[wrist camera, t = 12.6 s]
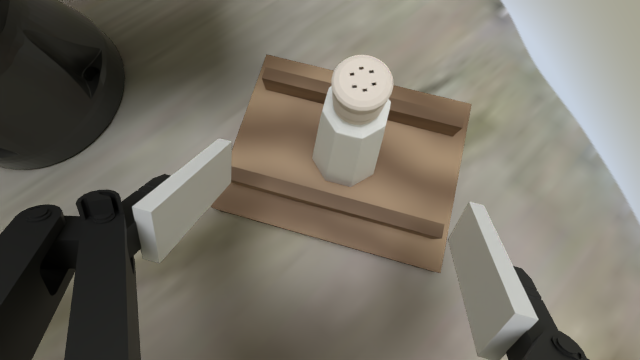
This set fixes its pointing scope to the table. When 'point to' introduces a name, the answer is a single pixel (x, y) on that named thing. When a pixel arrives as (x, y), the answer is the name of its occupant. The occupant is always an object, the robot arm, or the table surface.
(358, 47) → the table surface
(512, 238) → the table surface
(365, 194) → the rack
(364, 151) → the pepper shaker
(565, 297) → the table surface
